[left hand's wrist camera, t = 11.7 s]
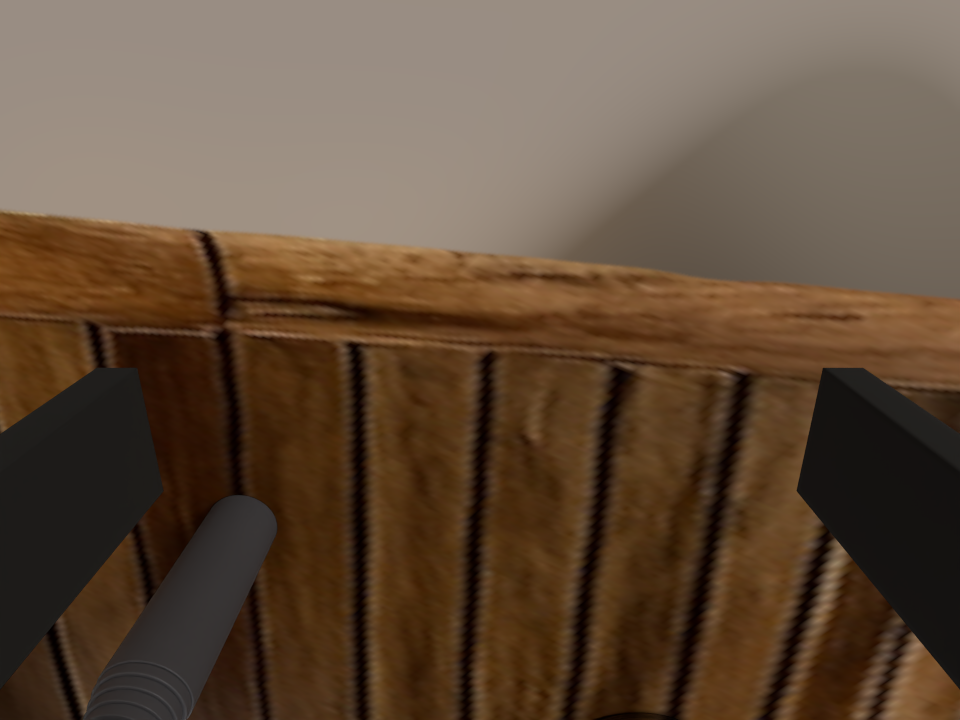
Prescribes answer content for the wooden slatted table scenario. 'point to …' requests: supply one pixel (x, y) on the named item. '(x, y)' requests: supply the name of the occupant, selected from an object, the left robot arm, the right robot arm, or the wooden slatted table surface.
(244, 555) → the bottle
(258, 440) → the wooden slatted table surface
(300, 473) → the wooden slatted table surface
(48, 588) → the left robot arm
